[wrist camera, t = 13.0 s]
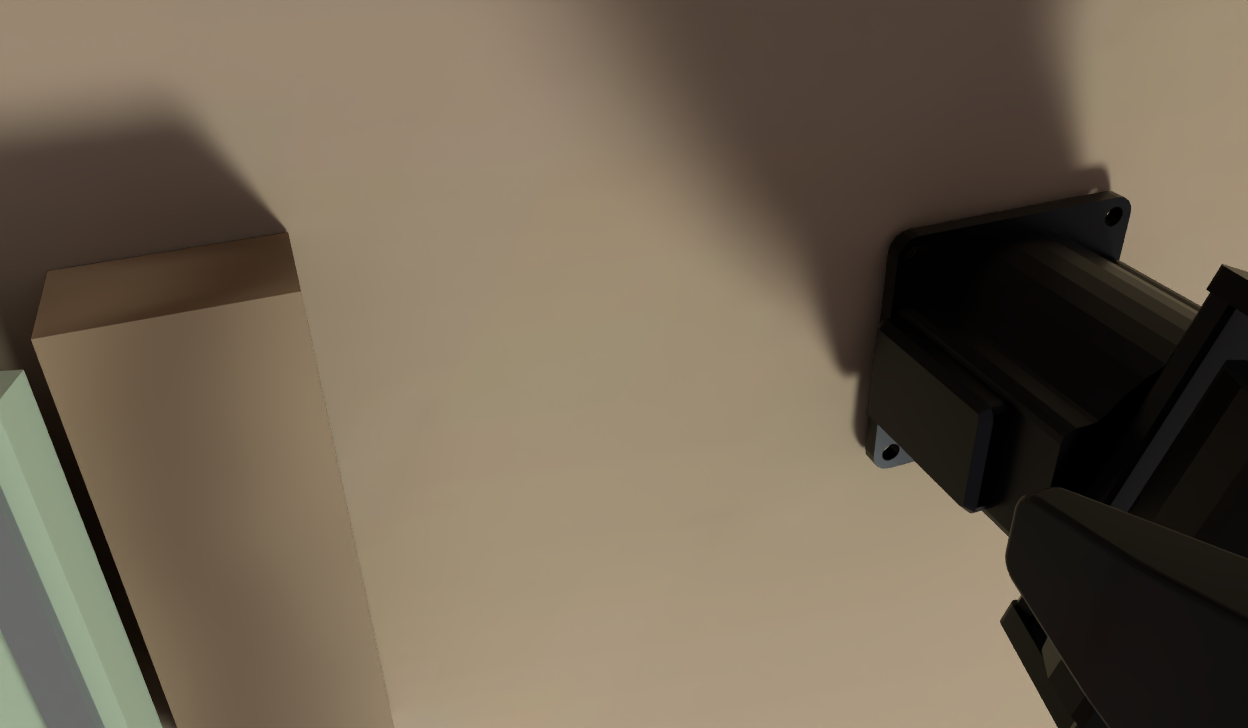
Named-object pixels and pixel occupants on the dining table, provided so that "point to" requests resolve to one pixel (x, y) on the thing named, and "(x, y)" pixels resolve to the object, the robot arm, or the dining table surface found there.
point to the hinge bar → (217, 481)
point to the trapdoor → (55, 593)
